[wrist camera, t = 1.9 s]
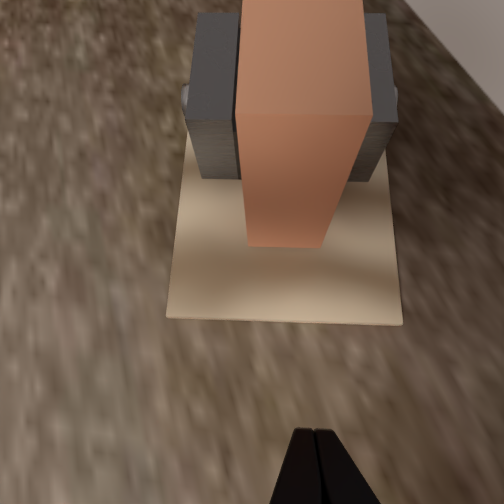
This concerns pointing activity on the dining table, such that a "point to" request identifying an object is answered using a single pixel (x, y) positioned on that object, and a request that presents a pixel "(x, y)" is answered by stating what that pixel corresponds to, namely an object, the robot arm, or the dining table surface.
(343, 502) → the robot arm
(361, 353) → the dining table surface
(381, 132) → the band block
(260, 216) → the peg post
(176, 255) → the base board
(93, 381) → the dining table surface
